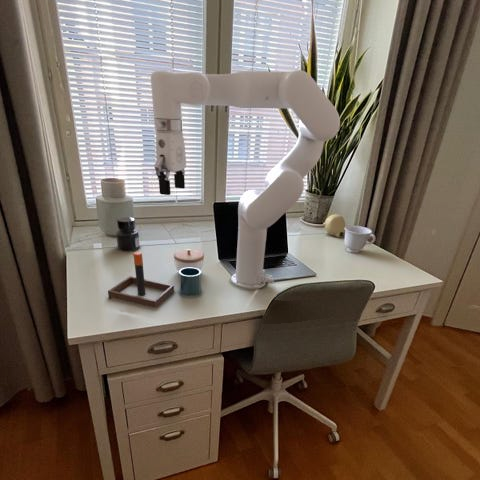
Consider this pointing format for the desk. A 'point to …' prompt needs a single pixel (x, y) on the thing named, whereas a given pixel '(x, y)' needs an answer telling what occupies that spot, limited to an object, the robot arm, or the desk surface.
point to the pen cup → (190, 281)
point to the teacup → (357, 238)
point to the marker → (139, 273)
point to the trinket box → (188, 259)
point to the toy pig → (335, 225)
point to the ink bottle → (127, 234)
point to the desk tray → (139, 300)
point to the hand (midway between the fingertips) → (172, 191)
